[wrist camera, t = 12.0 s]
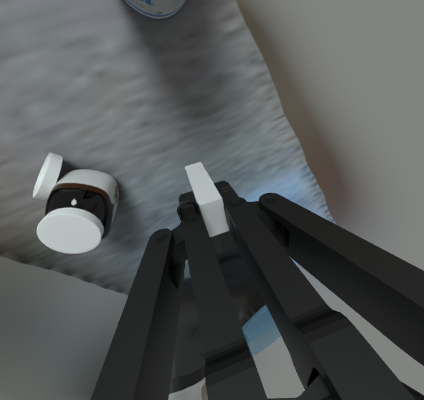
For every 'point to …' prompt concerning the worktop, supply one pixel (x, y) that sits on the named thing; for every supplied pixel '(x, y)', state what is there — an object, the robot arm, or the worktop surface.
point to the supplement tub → (156, 7)
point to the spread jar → (75, 206)
